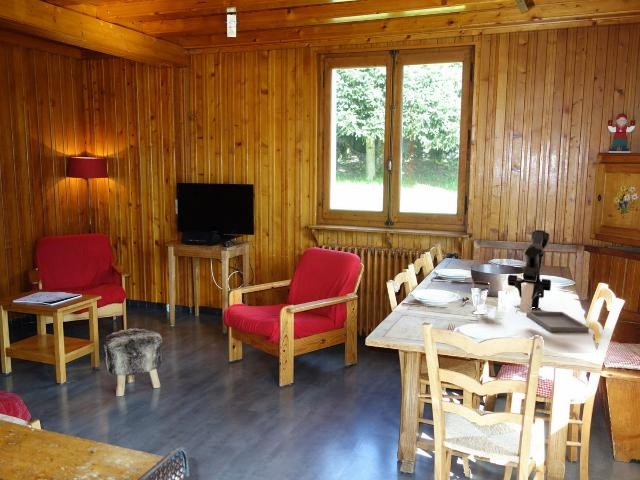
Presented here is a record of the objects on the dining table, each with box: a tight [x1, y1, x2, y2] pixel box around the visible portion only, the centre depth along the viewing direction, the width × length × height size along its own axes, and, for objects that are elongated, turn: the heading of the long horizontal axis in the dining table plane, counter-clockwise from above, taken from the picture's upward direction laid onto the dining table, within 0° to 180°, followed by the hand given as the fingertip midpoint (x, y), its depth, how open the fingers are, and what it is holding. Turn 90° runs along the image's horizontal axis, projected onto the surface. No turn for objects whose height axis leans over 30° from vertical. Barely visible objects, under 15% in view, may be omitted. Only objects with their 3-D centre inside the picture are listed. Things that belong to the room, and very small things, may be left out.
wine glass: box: [471, 280, 491, 316], centre depth 280 cm, size 8×8×15 cm
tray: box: [525, 310, 590, 334], centre depth 267 cm, size 24×18×2 cm
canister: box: [519, 282, 534, 314], centre depth 261 cm, size 5×5×13 cm
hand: (526, 298), depth 260 cm, fingers closed on canister, 5 cm apart
